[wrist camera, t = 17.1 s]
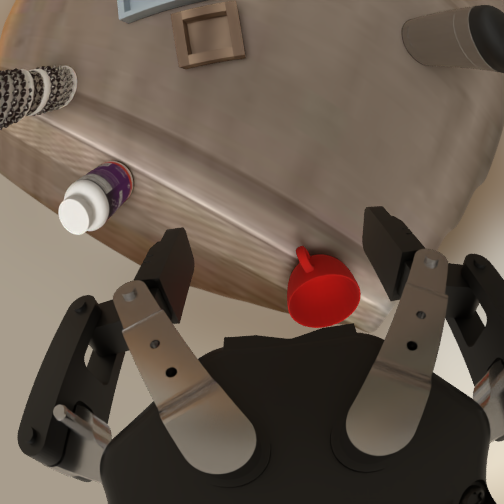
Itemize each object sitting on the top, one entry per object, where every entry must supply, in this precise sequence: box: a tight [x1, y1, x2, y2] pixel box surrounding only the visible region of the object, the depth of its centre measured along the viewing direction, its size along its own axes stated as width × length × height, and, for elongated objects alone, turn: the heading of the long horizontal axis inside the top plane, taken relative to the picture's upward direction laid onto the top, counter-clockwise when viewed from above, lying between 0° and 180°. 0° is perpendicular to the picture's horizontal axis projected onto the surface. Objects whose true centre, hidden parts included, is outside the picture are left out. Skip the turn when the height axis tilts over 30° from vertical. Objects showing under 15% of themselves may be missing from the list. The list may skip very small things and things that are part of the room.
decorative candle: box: [0, 65, 78, 130], centre depth 21 cm, size 9×9×25 cm
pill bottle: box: [59, 161, 133, 235], centre depth 36 cm, size 8×8×14 cm
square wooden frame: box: [171, 1, 246, 69], centre depth 28 cm, size 9×9×4 cm
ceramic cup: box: [287, 246, 361, 328], centre depth 48 cm, size 13×17×10 cm
